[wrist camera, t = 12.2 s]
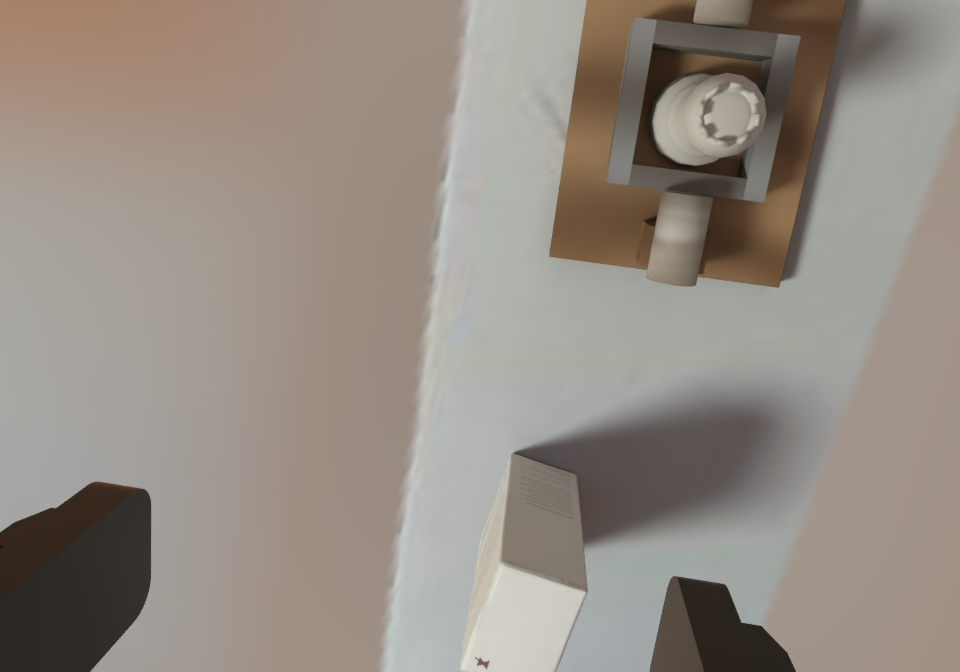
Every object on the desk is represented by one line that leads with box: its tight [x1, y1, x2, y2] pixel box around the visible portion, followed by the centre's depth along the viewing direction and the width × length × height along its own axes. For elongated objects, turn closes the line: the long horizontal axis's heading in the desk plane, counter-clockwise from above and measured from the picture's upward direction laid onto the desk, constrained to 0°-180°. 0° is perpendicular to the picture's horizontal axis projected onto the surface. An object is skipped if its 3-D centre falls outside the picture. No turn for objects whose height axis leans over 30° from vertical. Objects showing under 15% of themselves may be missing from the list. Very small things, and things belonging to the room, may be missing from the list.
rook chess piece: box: [648, 73, 767, 168], centre depth 32 cm, size 4×4×8 cm
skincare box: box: [460, 454, 588, 672], centre depth 38 cm, size 6×4×12 cm
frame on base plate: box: [549, 0, 846, 288], centre depth 35 cm, size 16×12×5 cm
